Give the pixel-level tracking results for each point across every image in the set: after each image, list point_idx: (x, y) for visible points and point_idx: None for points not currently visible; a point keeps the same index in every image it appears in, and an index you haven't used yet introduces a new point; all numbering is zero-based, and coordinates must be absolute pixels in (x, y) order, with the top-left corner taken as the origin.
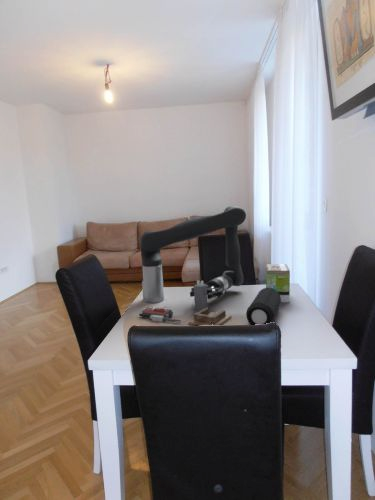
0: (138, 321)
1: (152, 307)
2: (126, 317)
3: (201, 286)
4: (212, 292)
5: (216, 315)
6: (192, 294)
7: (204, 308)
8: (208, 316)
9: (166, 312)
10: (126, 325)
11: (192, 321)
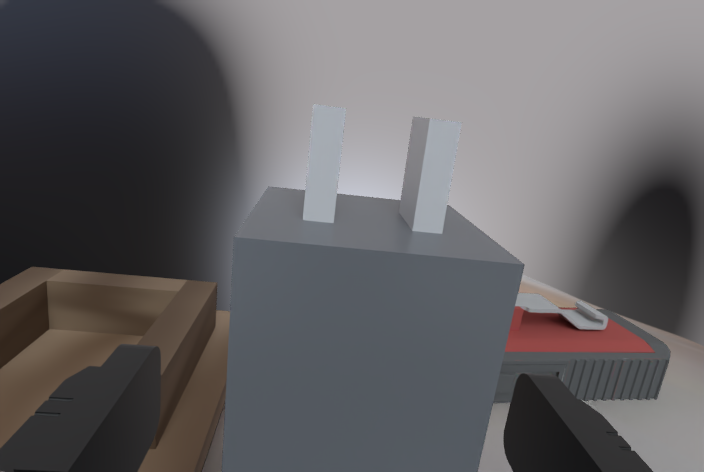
0: None
1: (587, 310)
2: (643, 328)
3: (283, 190)
4: (32, 450)
5: (10, 286)
6: (521, 432)
7: (163, 362)
8: (87, 274)
9: None
10: (521, 285)
11: (222, 317)
